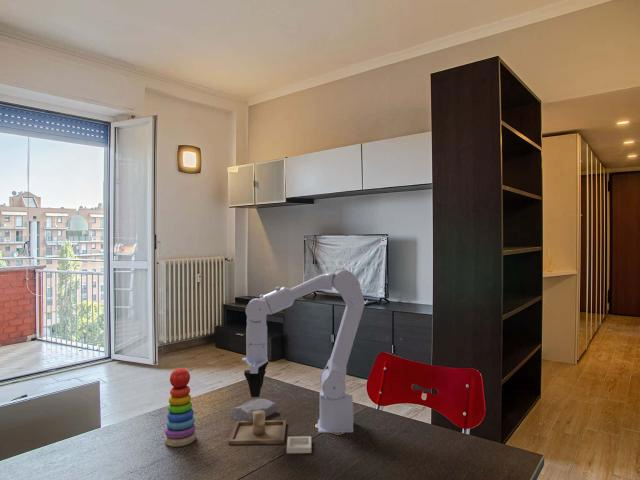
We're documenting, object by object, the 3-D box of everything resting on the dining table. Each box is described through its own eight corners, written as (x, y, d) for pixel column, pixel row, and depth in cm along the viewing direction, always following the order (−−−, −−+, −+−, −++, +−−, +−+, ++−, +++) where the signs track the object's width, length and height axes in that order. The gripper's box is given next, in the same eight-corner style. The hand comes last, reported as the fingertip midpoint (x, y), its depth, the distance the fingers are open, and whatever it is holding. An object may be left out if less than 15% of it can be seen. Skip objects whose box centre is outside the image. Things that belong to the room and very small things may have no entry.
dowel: (265, 430, 117) (265, 410, 117) (264, 435, 114) (264, 414, 114) (254, 430, 117) (254, 410, 117) (252, 435, 114) (252, 415, 114)
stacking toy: (202, 437, 114) (202, 366, 114) (181, 450, 107) (181, 375, 107) (179, 431, 117) (179, 363, 117) (157, 444, 110) (157, 371, 110)
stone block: (227, 425, 126) (252, 426, 121) (225, 408, 127) (250, 408, 121) (256, 413, 136) (279, 414, 130) (254, 397, 137) (277, 397, 131)
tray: (286, 424, 122) (286, 420, 122) (283, 444, 110) (283, 440, 110) (236, 425, 122) (236, 420, 122) (228, 445, 110) (228, 440, 110)
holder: (311, 442, 111) (311, 436, 111) (311, 454, 105) (311, 447, 105) (287, 442, 111) (287, 436, 111) (286, 454, 105) (286, 447, 105)
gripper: (245, 336, 126) (245, 383, 126) (238, 349, 111) (238, 401, 111) (269, 336, 126) (269, 382, 126) (265, 349, 112) (265, 401, 112)
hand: (256, 391), depth 119 cm, fingers open, 7 cm apart
